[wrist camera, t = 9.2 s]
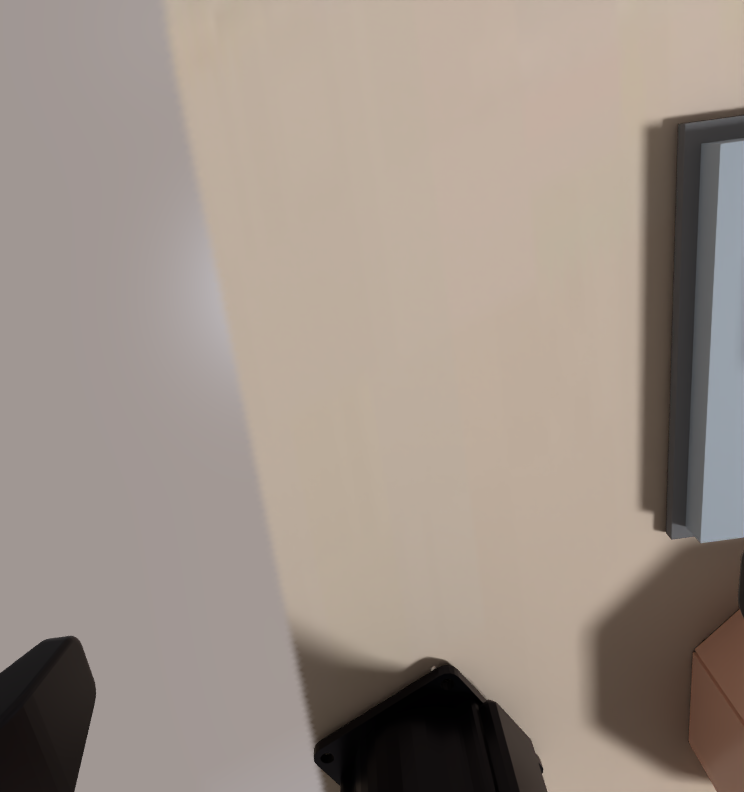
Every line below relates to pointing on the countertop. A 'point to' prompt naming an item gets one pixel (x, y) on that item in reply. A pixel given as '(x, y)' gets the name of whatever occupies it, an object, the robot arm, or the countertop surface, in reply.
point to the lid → (718, 350)
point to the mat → (687, 305)
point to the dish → (719, 705)
